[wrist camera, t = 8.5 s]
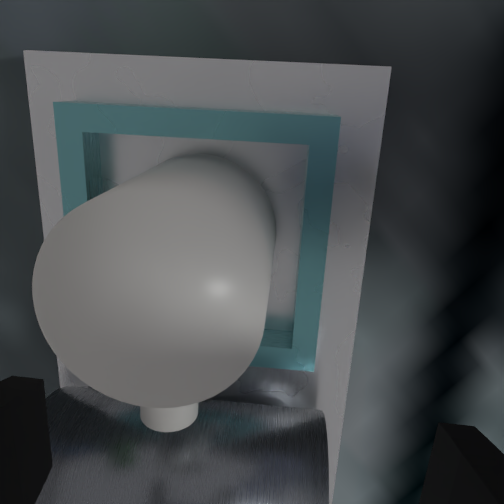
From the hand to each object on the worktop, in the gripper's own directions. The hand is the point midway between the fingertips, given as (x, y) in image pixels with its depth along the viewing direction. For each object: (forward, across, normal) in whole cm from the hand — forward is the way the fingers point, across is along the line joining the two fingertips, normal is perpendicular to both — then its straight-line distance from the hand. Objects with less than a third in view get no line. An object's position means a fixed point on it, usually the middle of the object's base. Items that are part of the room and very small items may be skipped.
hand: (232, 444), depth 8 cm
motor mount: (+9, +2, +2) cm, 10 cm away
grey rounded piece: (+8, +2, -2) cm, 8 cm away
